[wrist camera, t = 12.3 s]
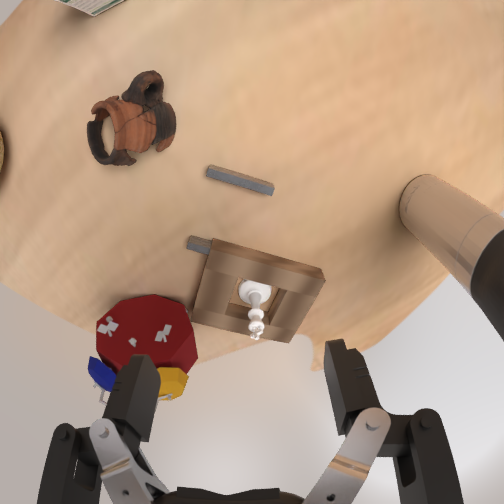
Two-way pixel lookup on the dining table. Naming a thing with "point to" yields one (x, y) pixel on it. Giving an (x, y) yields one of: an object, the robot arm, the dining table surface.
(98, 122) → the pottery mug
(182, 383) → the alarm clock
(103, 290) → the dining table surface
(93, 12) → the syrup box
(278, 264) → the block
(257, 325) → the chess piece
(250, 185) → the stand rails
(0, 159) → the cantaloupe
